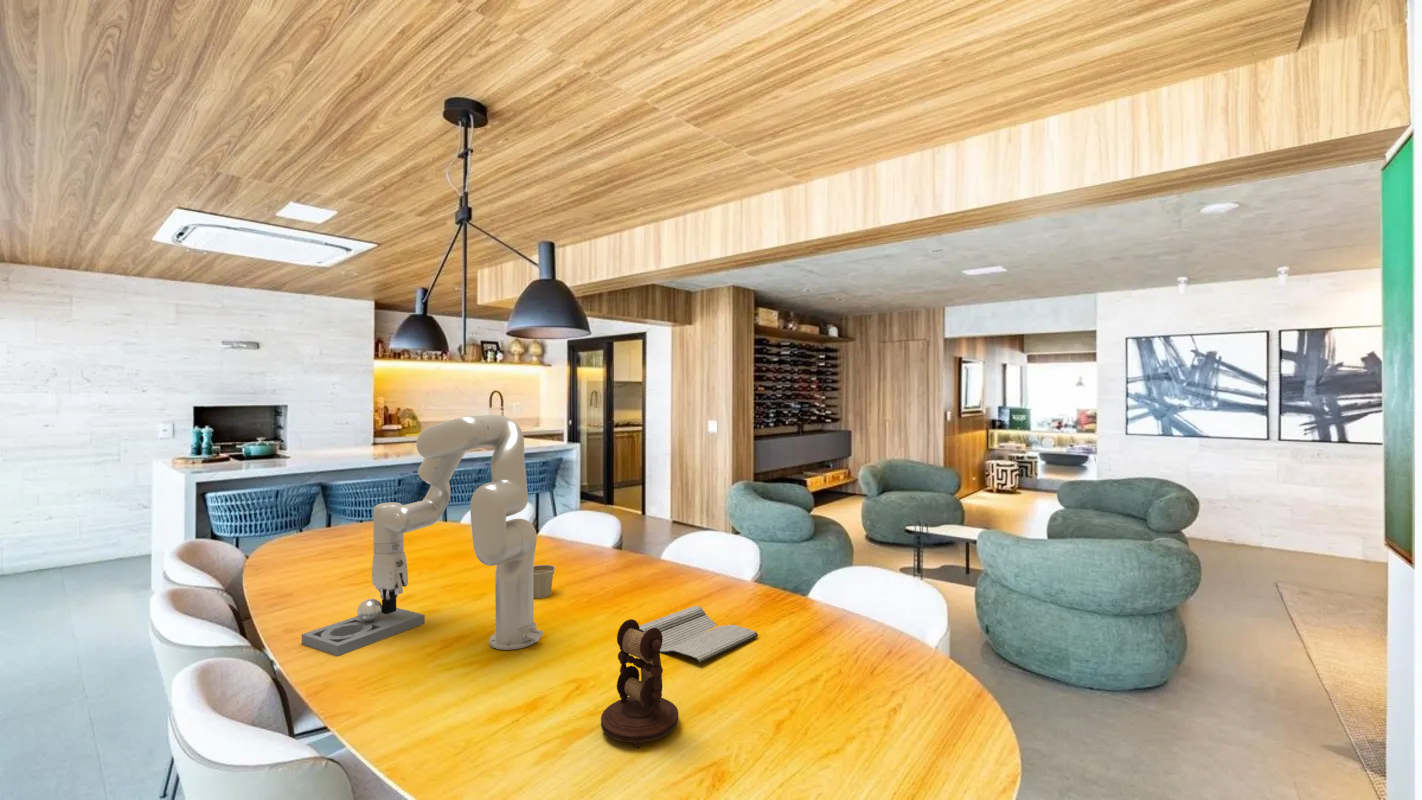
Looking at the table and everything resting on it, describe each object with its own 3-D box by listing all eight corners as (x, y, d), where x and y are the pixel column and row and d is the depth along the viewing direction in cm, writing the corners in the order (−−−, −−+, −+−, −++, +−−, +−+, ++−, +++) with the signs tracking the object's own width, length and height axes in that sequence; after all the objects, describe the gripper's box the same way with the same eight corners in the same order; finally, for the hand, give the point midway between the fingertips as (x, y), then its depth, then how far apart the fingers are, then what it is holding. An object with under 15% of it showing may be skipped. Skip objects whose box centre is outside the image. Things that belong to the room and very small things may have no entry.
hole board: (424, 623, 169) (424, 614, 169) (337, 656, 148) (337, 645, 148) (389, 614, 176) (389, 605, 176) (301, 643, 155) (301, 634, 155)
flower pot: (537, 602, 186) (537, 574, 186) (519, 596, 191) (519, 569, 191) (561, 594, 193) (561, 567, 193) (543, 589, 199) (543, 563, 199)
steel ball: (386, 597, 165) (362, 599, 161) (385, 620, 164) (361, 623, 159) (377, 598, 169) (354, 600, 165) (376, 620, 167) (353, 623, 163)
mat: (699, 671, 140) (699, 650, 140) (632, 644, 155) (632, 626, 155) (758, 640, 157) (758, 622, 157) (693, 619, 172) (692, 602, 172)
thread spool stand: (694, 725, 115) (693, 622, 115) (636, 760, 104) (635, 646, 104) (643, 700, 125) (642, 605, 125) (585, 730, 114) (584, 625, 114)
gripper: (417, 547, 168) (418, 612, 168) (385, 541, 175) (385, 604, 175) (392, 553, 161) (393, 621, 161) (359, 547, 168) (360, 612, 168)
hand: (389, 612), depth 168 cm, fingers closed
